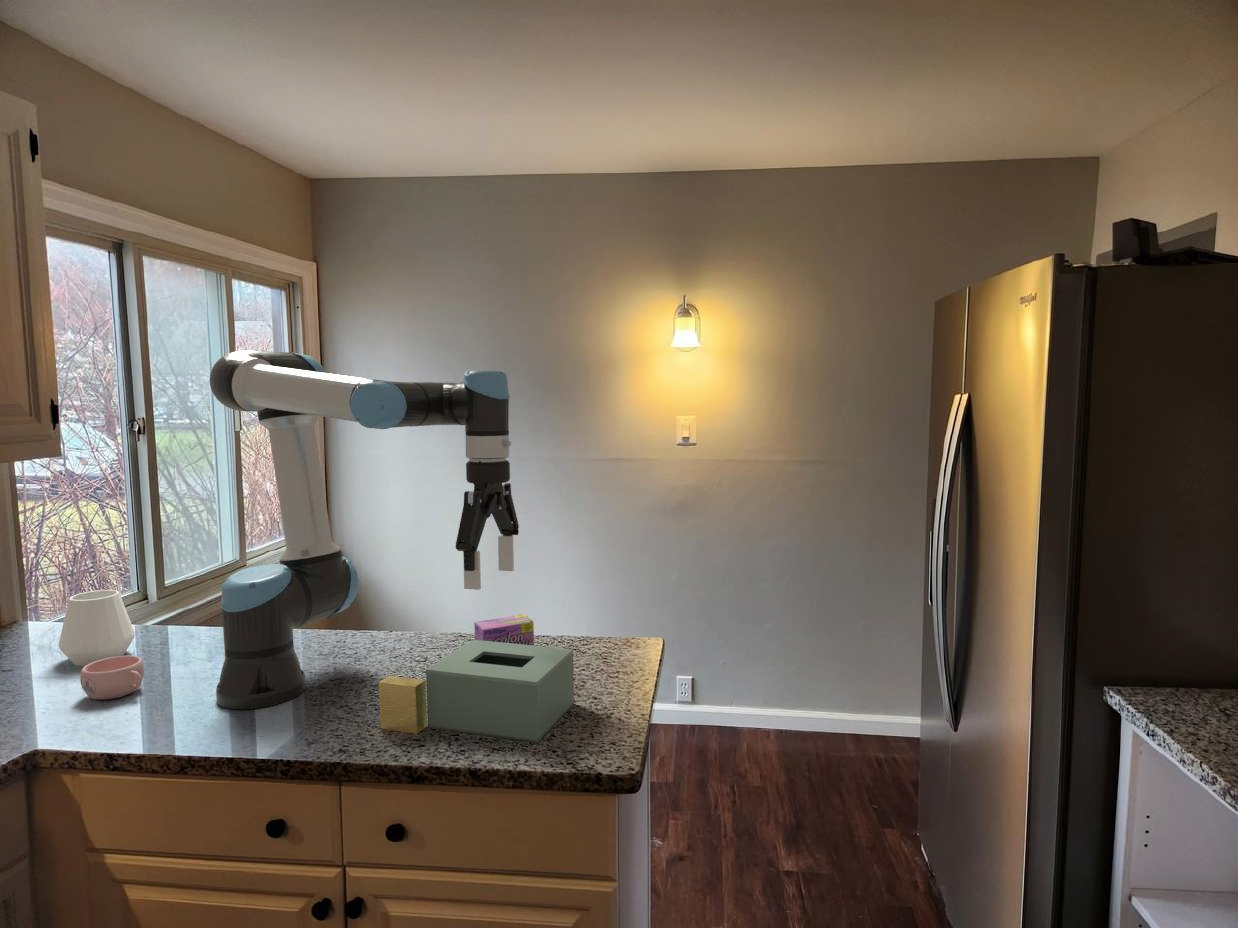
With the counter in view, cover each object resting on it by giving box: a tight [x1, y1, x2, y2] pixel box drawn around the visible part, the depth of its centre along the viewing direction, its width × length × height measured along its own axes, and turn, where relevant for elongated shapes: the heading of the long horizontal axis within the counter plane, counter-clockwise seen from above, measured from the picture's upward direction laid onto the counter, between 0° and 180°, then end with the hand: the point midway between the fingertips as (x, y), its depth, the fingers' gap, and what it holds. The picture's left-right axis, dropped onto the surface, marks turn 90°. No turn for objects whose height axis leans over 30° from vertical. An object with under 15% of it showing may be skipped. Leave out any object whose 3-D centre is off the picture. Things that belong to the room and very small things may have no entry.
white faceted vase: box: [58, 589, 136, 667], centre depth 160 cm, size 13×13×14 cm
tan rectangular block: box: [378, 675, 428, 735], centre depth 125 cm, size 7×3×8 cm, turn 72°
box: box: [473, 614, 535, 646], centre depth 146 cm, size 10×6×12 cm, turn 117°
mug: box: [79, 655, 145, 700], centre depth 140 cm, size 12×10×6 cm
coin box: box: [425, 639, 575, 744], centre depth 129 cm, size 20×16×10 cm
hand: (490, 579), depth 132 cm, fingers open, 13 cm apart
